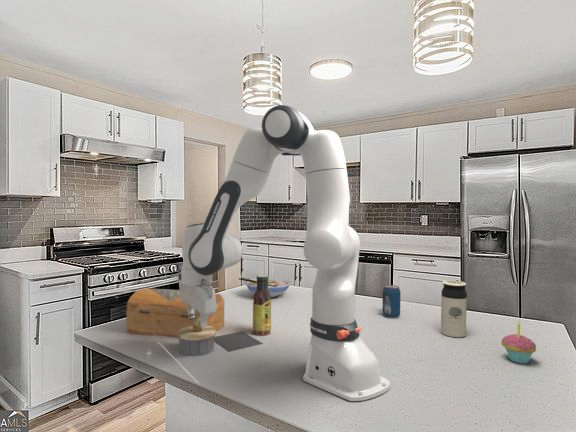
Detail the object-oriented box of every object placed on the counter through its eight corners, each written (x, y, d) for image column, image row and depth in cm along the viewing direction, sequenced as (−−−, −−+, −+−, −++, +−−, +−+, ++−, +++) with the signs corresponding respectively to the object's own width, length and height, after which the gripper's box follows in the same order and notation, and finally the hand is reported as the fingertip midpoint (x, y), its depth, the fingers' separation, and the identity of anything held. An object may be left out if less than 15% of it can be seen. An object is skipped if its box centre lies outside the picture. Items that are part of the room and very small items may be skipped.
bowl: (219, 352, 111) (219, 335, 111) (186, 359, 105) (186, 342, 105) (206, 342, 119) (206, 326, 119) (175, 348, 114) (175, 332, 113)
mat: (263, 344, 118) (263, 343, 118) (228, 353, 111) (228, 351, 111) (242, 332, 129) (242, 331, 129) (209, 339, 122) (209, 337, 122)
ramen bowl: (302, 296, 181) (302, 280, 181) (268, 305, 164) (268, 287, 164) (267, 288, 198) (267, 273, 198) (233, 296, 181) (233, 279, 181)
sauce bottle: (268, 337, 124) (268, 278, 124) (250, 336, 125) (250, 277, 125) (273, 331, 130) (273, 274, 130) (255, 329, 132) (256, 273, 131)
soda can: (399, 314, 153) (399, 285, 152) (401, 319, 146) (401, 288, 146) (381, 313, 154) (382, 284, 154) (382, 318, 147) (383, 287, 147)
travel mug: (442, 328, 135) (443, 279, 134) (466, 332, 131) (467, 281, 130) (439, 335, 128) (440, 283, 127) (464, 339, 124) (465, 285, 123)
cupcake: (536, 368, 102) (537, 325, 101) (500, 361, 106) (501, 320, 106) (535, 358, 109) (536, 317, 109) (501, 352, 113) (502, 312, 113)
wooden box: (226, 326, 136) (226, 288, 135) (204, 342, 120) (205, 299, 119) (154, 319, 143) (155, 283, 143) (125, 333, 128) (125, 293, 127)
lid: (221, 335, 111) (222, 319, 111) (185, 343, 105) (185, 325, 104) (207, 326, 120) (207, 310, 120) (173, 332, 114) (173, 316, 113)
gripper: (221, 281, 105) (221, 330, 106) (195, 271, 122) (194, 313, 122) (200, 284, 102) (200, 334, 102) (175, 273, 118) (175, 316, 119)
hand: (197, 322), depth 112 cm, fingers open, 7 cm apart
